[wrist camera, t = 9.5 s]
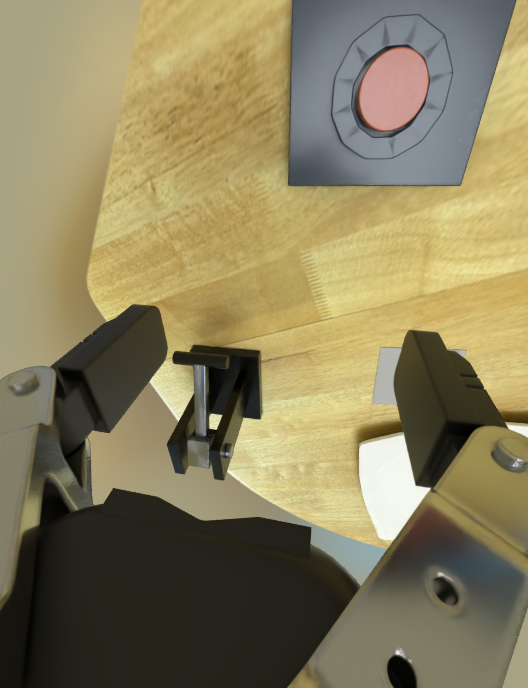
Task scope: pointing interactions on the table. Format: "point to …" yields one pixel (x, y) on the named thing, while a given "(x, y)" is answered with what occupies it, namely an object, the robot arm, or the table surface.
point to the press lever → (201, 404)
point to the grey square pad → (389, 375)
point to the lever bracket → (222, 407)
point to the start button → (393, 89)
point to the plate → (393, 481)
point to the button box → (351, 65)
